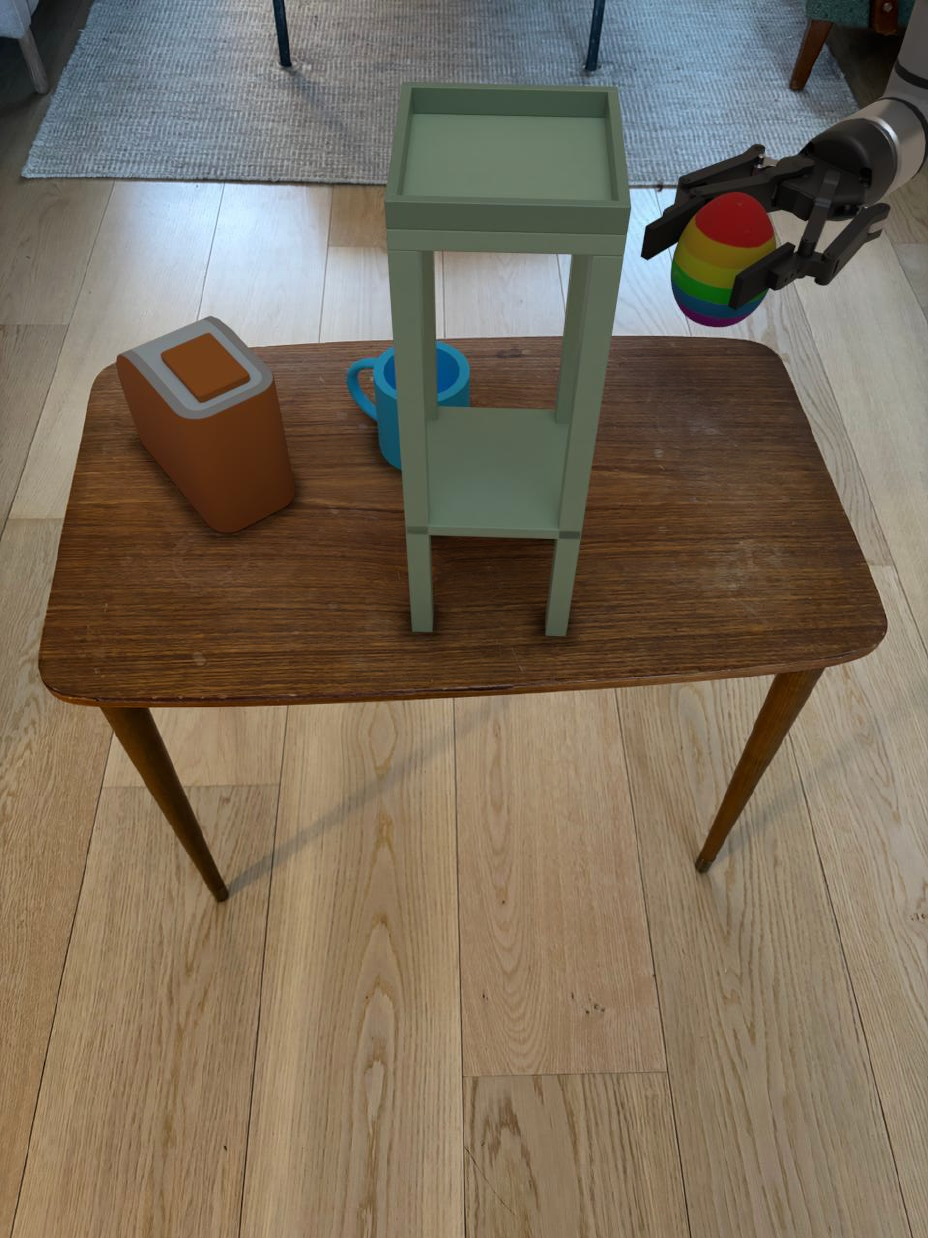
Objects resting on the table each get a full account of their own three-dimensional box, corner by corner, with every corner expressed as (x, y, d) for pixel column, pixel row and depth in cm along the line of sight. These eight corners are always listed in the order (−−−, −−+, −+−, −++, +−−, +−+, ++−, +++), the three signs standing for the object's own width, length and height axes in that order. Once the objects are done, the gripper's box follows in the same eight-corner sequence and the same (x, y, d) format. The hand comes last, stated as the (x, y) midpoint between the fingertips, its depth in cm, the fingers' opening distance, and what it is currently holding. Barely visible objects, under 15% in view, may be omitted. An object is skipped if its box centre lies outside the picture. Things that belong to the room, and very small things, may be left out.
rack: (562, 521, 84) (617, 85, 55) (565, 636, 77) (631, 206, 48) (421, 517, 84) (402, 80, 55) (412, 631, 77) (383, 200, 48)
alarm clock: (307, 496, 85) (285, 372, 74) (220, 541, 82) (184, 419, 71) (223, 403, 92) (192, 278, 81) (140, 442, 89) (96, 316, 78)
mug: (485, 430, 90) (487, 358, 84) (440, 486, 86) (438, 416, 80) (375, 386, 94) (368, 314, 87) (326, 439, 90) (316, 367, 83)
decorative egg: (658, 330, 81) (680, 218, 73) (669, 273, 86) (690, 162, 78) (759, 345, 80) (792, 233, 72) (764, 286, 85) (795, 175, 77)
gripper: (947, 253, 84) (788, 371, 75) (749, 158, 93) (585, 252, 84) (985, 168, 78) (817, 285, 69) (769, 75, 87) (595, 167, 78)
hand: (690, 267), depth 76 cm, fingers closed on decorative egg, 8 cm apart
